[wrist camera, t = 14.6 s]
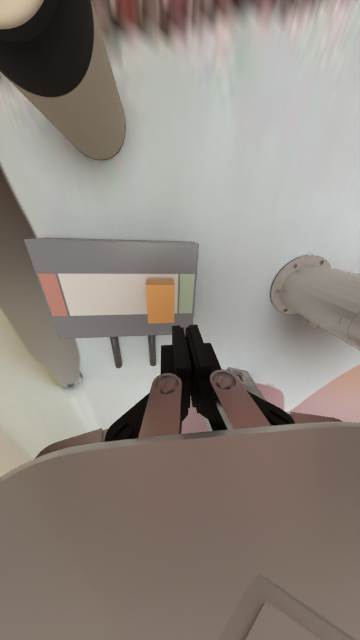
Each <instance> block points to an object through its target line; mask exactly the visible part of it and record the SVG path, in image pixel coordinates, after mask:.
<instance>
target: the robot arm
mask: <svg viewBox="0 0 360 640" xmlns="http://www.w3.org/2000/svg"><path fill="white" fill-rule="evenodd" d="M271 300H272V303H273V305H274V307H275V308H276V309H277V310H279V311H280V312H282V313H285V314H289V315H294V314H300V315H301V316H303V317H305V318H306V319H307V321H308V324H309V327H311V328H316V327H318V326H320V327H321V328H323V329H325V330H326V331H328V332H330V333H331V334H333V335H335V336H336V337H338V338H340V339H341V340H343V341H345V342H346V343H348V344H350V345H351V346H353V347H355V348H357V349H358V350H360V275H359V274H354V273H350V272H345V271H341V270H337V269H332V268H331V266H330V264H329V263H328V261H327V260H325V259H324V258H322V257H319V256H314V255H306V256H302V257H299V258H297V259H295V260H293V261H291V262H290V263H288V264H287V265H286V266H285V267H284V268H283V269H282V270H281V271H280V272H279V274H278V275H277V277H276V278H275V280H274V283H273V285H272V289H271ZM190 396H191V400H192V406H193V407H196V410H197V413H200V414H201V415H203V416H204V417H205V418H206V419H205V420H206V424H207V426H208V429H209V432H198V433H187V434H181V430H182V421H183V420H184V419H185V418H186V416H187V415H188V408H190ZM0 640H360V423H355V422H343V421H341V420H339V419H335V418H331V417H324V416H317V415H309V414H302V413H295V412H290V414H287V413H286V412H285V411H283V410H282V409H280V408H278V407H276V406H275V405H273V404H271V403H269V402H267V401H265V400H263V399H262V398H260V397H258V396H256V395H254V394H252V393H251V392H249V391H247V390H246V389H245V387H244V386H243V385H242V383H241V382H240V380H239V379H238V378H237V376H236V375H235V374H233V373H232V372H230V371H227V370H222V369H221V367H220V364H219V362H218V360H217V357H216V355H215V353H214V350H213V348H212V345H211V343H203V340H202V337H201V334H200V332H199V329H198V326H197V325H189V326H188V327H186V331H185V333H184V328H183V327H180V325H177V326H172V345H162V346H161V375H159V376H157V377H156V378H155V379H154V381H153V383H152V387H151V390H150V393H149V394H148V395H146V396H145V397H144V398H143V399H142V400H140V401H139V402H138V403H137V404H136V405H135V406H133V407H132V408H131V409H130V410H129V411H127V412H126V413H125V414H124V415H123V416H121V417H120V418H119V419H118V420H117V421H116V422H114V423H113V424H112V425H111V426H110V428H109V429H106V430H102V428H101V429H98V430H95V431H91V432H88V433H85V434H82V435H78V436H75V437H72V438H69V439H65V440H62V441H59V442H56V443H53V444H51V445H49V446H47V447H46V448H45V449H43V450H42V451H41V452H40V453H39V454H38V455H37V456H36V458H35V459H33V460H31V461H29V462H27V463H25V464H23V465H21V466H19V467H17V468H15V469H13V470H11V471H10V472H9V473H7V474H5V475H3V476H2V477H0Z"/></svg>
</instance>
